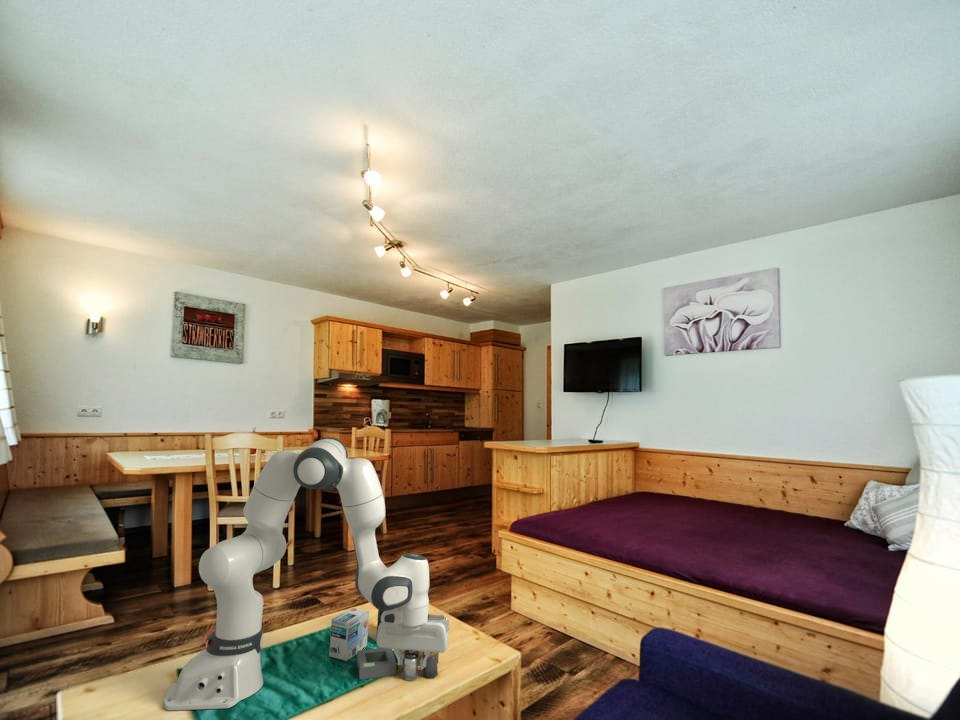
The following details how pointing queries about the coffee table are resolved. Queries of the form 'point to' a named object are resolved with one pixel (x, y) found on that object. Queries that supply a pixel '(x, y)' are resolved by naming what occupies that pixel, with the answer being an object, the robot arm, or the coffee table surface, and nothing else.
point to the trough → (418, 658)
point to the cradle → (376, 663)
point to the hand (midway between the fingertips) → (412, 665)
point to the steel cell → (410, 665)
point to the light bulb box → (349, 633)
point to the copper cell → (430, 665)
